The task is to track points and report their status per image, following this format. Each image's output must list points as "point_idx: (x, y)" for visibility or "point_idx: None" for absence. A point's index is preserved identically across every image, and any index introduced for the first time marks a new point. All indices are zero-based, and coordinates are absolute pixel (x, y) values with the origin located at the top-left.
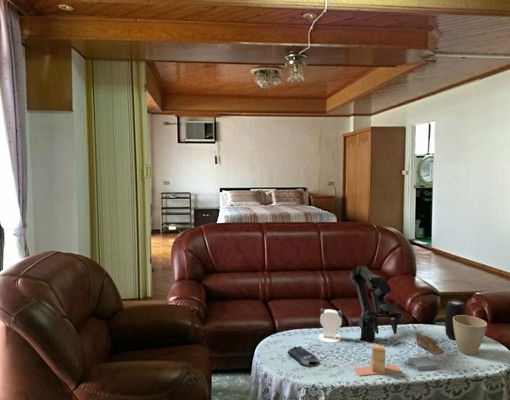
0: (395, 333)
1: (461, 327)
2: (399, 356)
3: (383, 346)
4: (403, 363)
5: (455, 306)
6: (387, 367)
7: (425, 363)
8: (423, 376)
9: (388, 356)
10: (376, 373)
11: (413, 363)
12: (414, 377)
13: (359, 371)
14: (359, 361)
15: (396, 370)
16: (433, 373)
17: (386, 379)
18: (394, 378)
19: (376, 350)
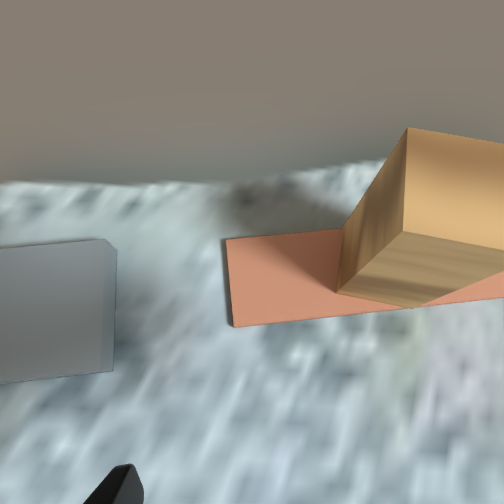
0: (131, 468)
1: None
2: None
3: (404, 215)
4: (158, 354)
5: None
6: (303, 287)
7: (23, 274)
8: (124, 189)
9: (221, 490)
10: None
11: (106, 294)
12: (182, 183)
13: None
14: (480, 410)
15: (258, 247)
16: (41, 214)
17: (347, 175)
18: (299, 181)
19: (494, 143)
